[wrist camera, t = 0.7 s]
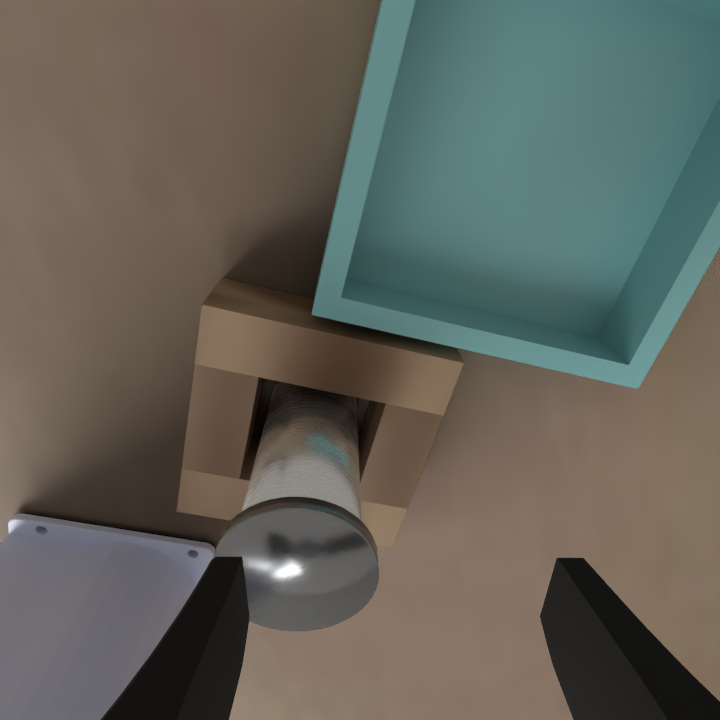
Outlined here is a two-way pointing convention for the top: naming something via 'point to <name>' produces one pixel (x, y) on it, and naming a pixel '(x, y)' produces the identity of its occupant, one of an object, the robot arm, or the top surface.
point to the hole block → (318, 371)
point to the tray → (531, 179)
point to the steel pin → (304, 516)
